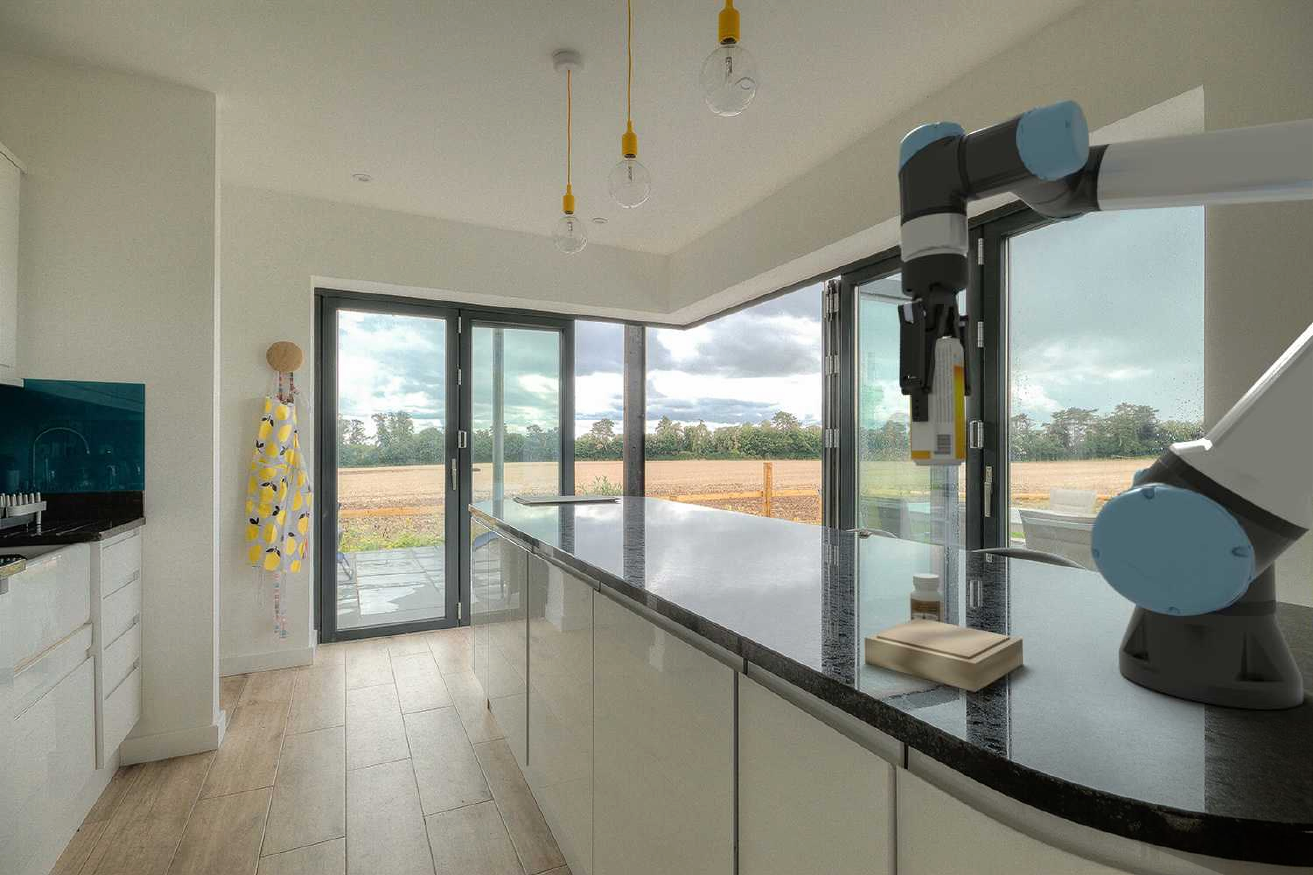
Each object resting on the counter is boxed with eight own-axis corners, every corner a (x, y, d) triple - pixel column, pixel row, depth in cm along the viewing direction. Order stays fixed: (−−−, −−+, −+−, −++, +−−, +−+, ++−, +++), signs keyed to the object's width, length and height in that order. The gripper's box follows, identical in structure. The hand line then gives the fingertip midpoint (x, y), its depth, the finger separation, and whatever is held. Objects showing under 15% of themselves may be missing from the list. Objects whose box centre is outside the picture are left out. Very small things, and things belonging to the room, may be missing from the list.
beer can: (955, 464, 81) (952, 344, 81) (974, 465, 75) (971, 336, 75) (905, 465, 81) (902, 346, 82) (919, 466, 75) (917, 338, 76)
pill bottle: (908, 632, 90) (907, 577, 91) (912, 624, 94) (911, 571, 94) (943, 636, 88) (941, 579, 89) (945, 628, 92) (944, 573, 92)
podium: (1023, 663, 77) (1022, 636, 77) (975, 692, 68) (974, 661, 68) (918, 640, 87) (917, 616, 87) (865, 662, 78) (864, 635, 78)
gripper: (940, 278, 87) (944, 449, 87) (863, 252, 75) (867, 451, 75) (998, 266, 82) (1003, 449, 81) (925, 235, 69) (930, 451, 69)
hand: (938, 449), depth 78 cm, fingers closed on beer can, 6 cm apart
